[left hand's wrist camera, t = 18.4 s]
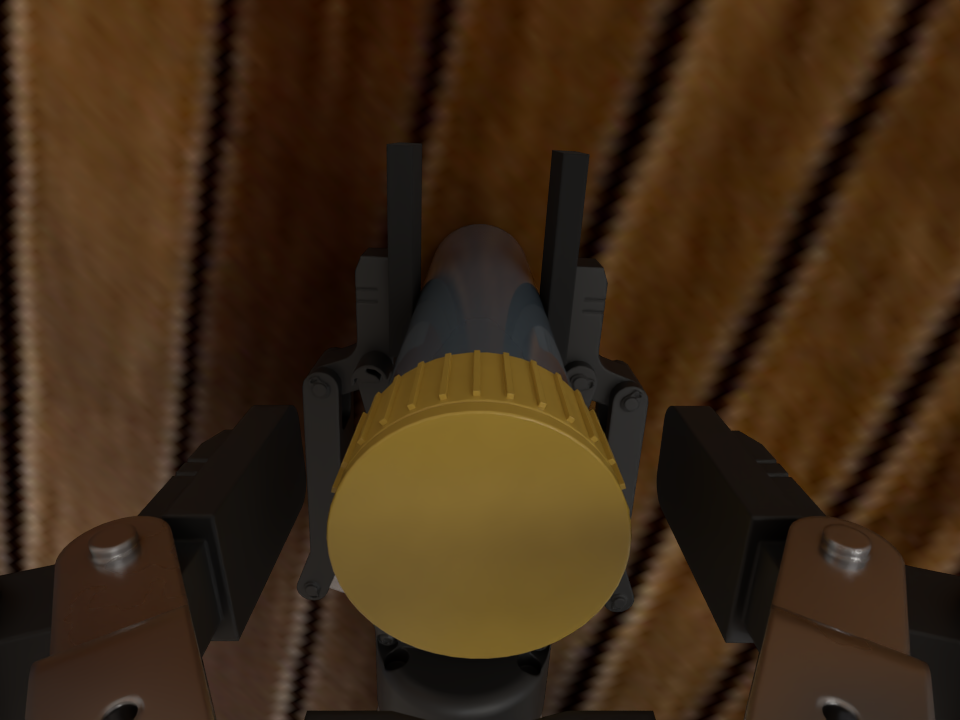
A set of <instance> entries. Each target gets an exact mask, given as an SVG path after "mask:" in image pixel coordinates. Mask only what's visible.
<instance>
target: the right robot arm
mask: <svg viewBox="0 0 960 720" xmlns="http://www.w3.org/2000/svg"><path fill="white" fill-rule="evenodd" d="M588 164H589V154H585V153H580V152H575V151H557V150H552V160H551V171H550V182H549V194H548V205H547V216H546V227H545V239H544V250H543V261H542V273H541V284H540V295H539V296H540V299H541V302H542V304H543V307H544V310H545V313H546V316H547V318H548V321H549V324H550V327H551V330H552V333H553V335H554V338H555V341H556V344H557V347H558V349H559V352H560V355H561V358H562V361H563V363H564V366H565V369H566V372H567V375H568V378H569V380H570V383H571V386H572V389H573V390H574V391H575V390H576V389H578V390H579V391H580V392H581V395H582V397H583V400H584V402H585V405H586V406H587V408H588V409H589V406H590V403H591V401H592V400H593V401H596V408H595V413H596V415H597V418H598V420H599V423H600V425H601V428H602V430H603V432H604V434H605V436H606V439H607V441H608V444H609V446H610V448H611V451H612V453H613V456H614V458H615V461H616V463H617V466H618V468H619V471H620V473H621V475H622V478H623V480H624V483H625V486H626V489H623V490H622V492H623V494H624V497H625V499H626V502H627V504H628V507H629V510H630V514H629V515H630V520H631V514H632V508H633V501H634V494H635V488H636V481H637V474H638V468H639V461H640V454H641V448H642V441H643V434H644V428H645V421H646V414H647V407H648V396H647V395H646V393H645V391H644V390H643V388H642V386H641V385H640V383H639V381H638V380H637V378H636V377H635V375H634V374H633V372H632V371H631V369H630V368H629V366H628V365H627V364H626V363H625V362H623V361H619V360H614V361H611V360H609V359H607V358H604V357H602V356H600V355H599V345H600V337H601V330H602V322H603V315H604V314H603V312H604V307H605V299H606V292H607V285H608V283H607V279H606V275H605V272H604V268H603V267H602V266H601V264H600V263H599V262H598V261H597V260H596V259H592V258H578V253H579V244H580V235H581V226H582V217H583V208H584V199H585V190H586V181H587V173H588ZM421 193H422V144H418V143H392V144H387V211H388V249H385V248H368V249H367V250H366V251H365V252H364V253H363V254H362V255H361V257H360V260H359V262H358V265H357V268H356V270H355V284H356V314H357V343H356V344H353V345H351V346H348V347H345V348H338V347H334V348H329V349H328V350H326V351H325V352H324V353H323V355H322V356H321V357H320V358H319V360H318V361H317V363H316V364H315V365H314V367H313V368H312V370H311V371H310V373H309V374H308V376H307V377H306V379H305V380H304V382H303V408H304V428H305V448H306V468H307V488H308V508H309V528H310V548H311V551H310V554H309V556H308V559H307V561H306V564H305V566H304V569H303V571H302V574H301V576H300V579H299V581H298V584H297V590H298V592H299V594H300V595H301V596H302V597H304V598H306V599H309V600H319V599H321V598H323V597H324V596H325V595H326V594H327V592H328V590H329V588H331V589H334V590H337V591H340V592H343V593H344V591H343V590H342V588H341V586H340V585H339V582H338V580H337V578H336V576H335V574H334V572H333V568H332V565H331V561H330V558H329V554H328V547H327V538H326V537H327V520H328V515H329V510H330V505H331V503H332V500H333V497H334V495H335V493H332V492H331V490H332V486H333V484H334V482H335V479H336V477H337V474H338V472H339V469H340V467H341V464H342V461H343V459H344V456H345V454H346V451H347V449H348V447H349V444H350V442H351V439H352V437H353V434H354V404H353V391H356V390H360V393H361V397H362V401H363V404H364V408H365V412H366V413H367V414H368V412H369V410H370V407H371V405H372V402H373V400H374V397H375V395H376V394H377V393H378V392H380V393H382V392H384V391H385V390H386V387H387V384H388V382H389V379H390V376H391V373H392V371H393V368H394V365H395V362H396V359H397V357H398V354H399V351H400V348H401V346H402V343H403V340H404V337H405V334H406V332H407V329H408V326H409V323H410V321H411V318H412V315H413V312H414V310H415V307H416V304H417V301H418V298H419V296H420V293H421ZM633 602H634V596H633V593H632V589H631V586H630V583H629V579H628V576H627V573H626V569H625V572H624V574H623V576H622V578H621V580H620V583H619V585H618V586H617V588H616V590H615V591H614V593H613V594H612V596H611V597H610V599H609V600H608V601H607V603H606V604H605V607H606V608H607V609H609V610H610V611H614V612H622V611H625V610H627V609H629V608H630V607H631V606H632V604H633ZM373 625H374V624H373ZM374 628H375V633H376V665H377V700H378V709H377V711H395V712H398V713H402V714H406V715H410V716H414V717H418V718H422V719H425V720H535V719H538V718H542V710H543V705H544V698H545V690H546V682H547V674H548V665H549V657H550V649H551V644H550V645H547V646H545V647H542V648H540V649H536V650H533V651H530V652H527V653H523V654H518V655H513V656H508V657H499V658H489V659H470V658H459V657H451V656H445V655H440V654H435V653H432V652H428V651H425V650H422V649H418V648H416V647H413V646H411V645H409V644H406V643H404V642H401V641H400V640H398V639H396V638H394V637H392V636H390V635H389V634H387V633H385V632H384V631H382V630H381V629H380V628H378V627H377V626H375V625H374Z"/></svg>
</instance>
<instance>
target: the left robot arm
mask: <svg viewBox="0 0 960 720" xmlns="http://www.w3.org/2000/svg"><path fill="white" fill-rule="evenodd" d="M305 492H306V471H305V463H304V455H303V448H302V440H301V432H300V425H299V417H298V413H297V410H296V408H295V407H294V406H293V405H254V406H252V407H251V408H250V409H249V411H248V412H247V413H246V414H245V416H244V417H243V418H242V419H241V420H240V422H239V423H238V424H237V425H236V426H235V428H234V429H233V430H224V431H222V432H220V433H219V434H217V435H215V436H214V437H212V438H210V439H209V440H207V441H205V442H204V443H202V444H201V445H200V446H199V447H198V448H197V450H196V451H195V452H194V453H193V454H192V455H191V456H190V457H189V459H188V462H187V463H184V464H183V465H182V466H181V468H180V469H179V470H178V471H177V472H176V476H172V478H171V479H170V480H169V481H168V482H167V483H166V484H165V485H164V487H163V488H162V489H161V490H160V491H159V492H158V493H157V494H156V496H155V497H154V498H153V499H152V500H151V501H150V502H149V503H148V505H147V506H146V507H145V508H144V509H143V510H142V511H141V512H140V514H139V515H138V516H134V517H127V518H122V519H118V520H114V521H111V522H108V523H105V524H102V525H100V526H97V527H95V528H93V529H91V530H89V531H87V532H85V533H84V534H82V535H80V536H79V537H77V538H76V539H75V540H73V541H72V542H71V543H69V544H68V545H67V546H66V547H65V548H64V549H63V551H62V552H61V553H60V554H59V556H58V558H57V560H56V564H55V565H50V566H46V567H41V568H36V569H31V570H26V571H21V572H16V573H11V574H6V575H1V576H0V720H216V715H215V711H214V707H213V702H212V698H211V694H210V689H209V685H208V681H207V676H206V672H205V668H204V664H203V660H202V656H203V654H204V653H205V651H206V649H207V647H208V645H209V643H210V641H239V639H240V637H241V635H242V632H243V630H244V628H245V626H246V624H247V622H248V620H249V618H250V616H251V613H252V611H253V609H254V607H255V605H256V603H257V601H258V599H259V597H260V594H261V592H262V590H263V588H264V586H265V584H266V582H267V580H268V578H269V575H270V573H271V571H272V569H273V567H274V565H275V563H276V561H277V559H278V556H279V554H280V552H281V550H282V548H283V546H284V544H285V542H286V540H287V537H288V535H289V533H290V531H291V529H292V527H293V525H294V523H295V521H296V518H297V516H298V514H299V512H300V510H301V508H302V505H303V502H304V498H305ZM657 493H658V499H659V503H660V506H661V509H662V511H663V513H664V515H665V517H666V519H667V521H668V523H669V525H670V528H671V530H672V532H673V534H674V536H675V538H676V540H677V542H678V544H679V546H680V548H681V550H682V552H683V555H684V557H685V559H686V561H687V563H688V565H689V567H690V569H691V571H692V573H693V575H694V577H695V580H696V582H697V584H698V586H699V588H700V590H701V592H702V594H703V596H704V598H705V600H706V602H707V605H708V607H709V609H710V611H711V613H712V615H713V617H714V619H715V621H716V623H717V625H718V627H719V630H720V632H721V634H722V636H723V638H724V640H725V642H726V643H754V644H755V645H756V647H757V649H758V651H759V655H758V660H757V664H756V668H755V672H754V676H753V681H752V685H751V689H750V694H749V698H748V702H747V707H746V711H745V715H744V720H960V576H956V575H951V574H946V573H941V572H936V571H931V570H926V569H921V568H916V567H912V566H908V565H905V564H904V560H903V558H902V556H901V554H900V553H899V552H898V551H897V549H896V548H895V547H894V546H893V545H892V544H891V543H889V542H888V541H887V540H885V539H884V538H883V537H881V536H880V535H878V534H876V533H875V532H873V531H871V530H869V529H867V528H865V527H863V526H860V525H858V524H855V523H852V522H849V521H846V520H842V519H838V518H833V517H827V516H826V515H825V514H824V513H823V512H822V511H821V510H820V509H819V507H818V506H817V505H816V504H815V503H814V502H813V501H812V500H811V499H810V497H809V496H808V495H807V494H806V493H805V492H804V491H803V490H802V489H801V487H800V486H799V485H798V484H797V483H796V482H795V481H794V480H793V479H792V477H788V473H787V472H786V471H785V470H784V469H783V467H782V466H781V465H780V464H776V460H775V459H774V457H773V456H772V455H771V454H770V453H769V452H768V451H767V450H766V448H765V447H764V446H763V445H762V444H760V443H759V442H757V441H755V440H754V439H752V438H750V437H748V436H747V435H745V434H743V433H742V432H740V431H731V430H730V429H729V428H728V426H727V425H726V424H725V423H724V422H723V420H722V419H721V418H720V417H719V416H718V415H717V413H716V412H715V411H714V410H713V409H712V408H711V407H710V406H670V407H669V408H668V409H667V411H666V414H665V419H664V426H663V433H662V441H661V449H660V456H659V464H658V471H657ZM304 720H425V719H422V718H418V717H414V716H410V715H406V714H402V713H398V712H395V711H307V713H306V716H305V719H304ZM535 720H656V719H655V716H654V713H653V711H565V712H562V713H558V714H554V715H550V716H546V717H542V718H538V719H535Z"/></svg>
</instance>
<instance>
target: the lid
mask: <svg viewBox="0 0 960 720" xmlns="http://www.w3.org/2000/svg"><path fill="white" fill-rule="evenodd" d="M623 489H626V486H625V483H624V480H623V478H622V475H621V473H620V471H619V468H618V466H617V463H616V461H615V458H614V456H613V453H612V451H611V448H610V446H609V444H608V441H607V439H606V436H605V434H604V432H603V430H602V428H601V425H600V423H599V420H598V418H597V415H596V413H595V411H594V409H592V410H590V411H589V409H588V408H587V406H586V405H585V402H584V400H583V397H582V395H581V392H580V391H579V390H578V389H576V390H575V391H574V390H573V389H572V388H571V387H570V386H569V385H568V384H567V383H565V382H564V381H563V380H562V377H561V375H560V374H558V373H557V372H556V373H555V374H553V373H552V372H550V371H548V370H546V369H544V368H542V367H541V366H539V365H537V362H536V361H534V360H531V361H530V362H529V361H526V360H524V359H521V358H517V357H513V356H509V353H506V352H503V354H496V353H480V350H474V353H462V354H454V355H452V354H451V353H447V354H445V357H442V358H438V359H435V360H432V361H429V362H427V363H424V361H422V362H420V363H418V366H417V367H416V368H414V369H412V370H410V371H409V372H407V373H405V374H404V375H402V376H400V375H399V374H398V375H397V376H395V377H394V380H393V383H392V384H391V385H390V386H389V387H388V388H387V389H386V390H385V391H384V392H382V393H380V392H378V393H377V394H376V395H375V397H374V400H373V402H372V405H371V407H370V410H369V412H368V414H367V413H364V412H363V414H362V415H361V418H360V420H359V422H358V425H357V427H356V430H355V432H354V434H353V437H352V439H351V442H350V444H349V447H348V449H347V451H346V454H345V456H344V459H343V461H342V464H341V467H340V469H339V472H338V474H337V477H336V479H335V482H334V484H333V486H332V490H331V492H332V493H335V495H334V497H333V500H332V503H331V505H330V510H329V515H328V520H327V537H326V538H327V547H328V554H329V558H330V561H331V565H332V568H333V572H334V574H335V576H336V578H337V580H338V582H339V585H340V586H341V588H342V590H343V591H344V593H345V594H346V596H347V597H348V599H349V600H350V601H351V602H352V604H353V605H354V606H355V607H356V608H357V609H358V611H359V612H360V613H361V614H363V615H364V616H365V617H366V618H367V619H368V620H369V621H370V622H371V623H373V624H374V625H375V626H377V627H378V628H380V629H381V630H382V631H384V632H385V633H387V634H389V635H390V636H392V637H394V638H396V639H398V640H400V641H401V642H404V643H406V644H409V645H411V646H413V647H416V648H418V649H422V650H425V651H428V652H432V653H435V654H440V655H445V656H451V657H459V658H470V659H489V658H499V657H508V656H513V655H518V654H523V653H527V652H530V651H533V650H536V649H540V648H542V647H545V646H547V645H550V644H552V643H554V642H557V641H559V640H560V639H562V638H564V637H566V636H568V635H569V634H571V633H573V632H574V631H576V630H577V629H579V628H580V627H581V626H583V625H584V624H586V623H587V622H588V621H589V620H590V619H591V618H592V617H593V616H594V615H596V614H597V613H598V612H599V611H600V610H601V608H602V607H603V606H604V605H605V604H606V603H607V601H608V600H609V599H610V597H611V596H612V594H613V593H614V591H615V590H616V588H617V586H618V585H619V583H620V580H621V578H622V576H623V574H624V572H625V569H626V565H627V562H628V558H629V554H630V547H631V538H632V536H631V520H630V515H629V514H630V510H629V507H628V504H627V502H626V499H625V497H624V494H623V492H622V490H623Z"/></svg>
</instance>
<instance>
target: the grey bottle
mask: <svg viewBox="0 0 960 720" xmlns="http://www.w3.org/2000/svg"><path fill="white" fill-rule="evenodd" d="M474 350H480V353H496V354H503V352H506V353H509V356H513V357H517V358H521V359H524V360H526V361H529V362H530V361H531V360H534V361H536V362H537V365H539V366H541V367H542V368H544V369H546V370H548V371H550V372H552V373H553V374H555V373H556V372H557V373H558V374H560V375H561V377H562V380H563V381H564V382H565V383H567V384H568V385H569V386H570V387H571V388H572V386H571V383H570V380H569V378H568V375H567V372H566V369H565V366H564V363H563V361H562V358H561V355H560V352H559V349H558V347H557V344H556V341H555V338H554V335H553V333H552V330H551V327H550V324H549V321H548V318H547V316H546V313H545V310H544V307H543V304H542V302H541V299H540V296H539V293H538V290H537V288H536V285H535V282H534V279H533V276H532V273H531V271H530V268H529V265H528V262H527V259H526V257H525V254H524V252H523V250H522V248H521V246H520V245H519V243H518V242H517V241H516V240H515V239H514V238H513V237H512V236H511V235H510V234H508V233H507V232H505V231H504V230H502V229H499V228H497V227H494V226H491V225H485V224H475V225H469V226H465V227H462V228H459V229H458V230H456V231H454V232H452V233H451V234H450V235H448V236H447V237H446V238H445V239H444V240H443V241H442V242H441V244H440V245H439V247H438V248H437V250H436V252H435V254H434V257H433V260H432V262H431V265H430V268H429V271H428V274H427V276H426V279H425V282H424V285H423V287H422V290H421V293H420V296H419V298H418V301H417V304H416V307H415V310H414V312H413V315H412V318H411V321H410V323H409V326H408V329H407V332H406V334H405V337H404V340H403V343H402V346H401V348H400V351H399V354H398V357H397V359H396V362H395V365H394V368H393V371H392V373H391V376H390V379H389V382H388V384H387V387H386V389H387V388H388V387H389V386H390V385H391V384H392V383H393V380H394V377H395V376H397V375H398V374H399V375H400V376H402V375H404V374H405V373H407V372H409V371H410V370H412V369H414V368H416V367H417V366H418V363H420V362H422V361H424V363H427V362H429V361H432V360H435V359H438V358H442V357H445V354H447V353H451V354H452V355H454V354H462V353H474Z"/></svg>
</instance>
